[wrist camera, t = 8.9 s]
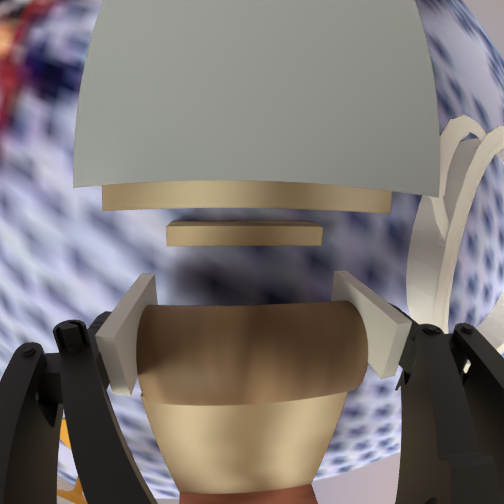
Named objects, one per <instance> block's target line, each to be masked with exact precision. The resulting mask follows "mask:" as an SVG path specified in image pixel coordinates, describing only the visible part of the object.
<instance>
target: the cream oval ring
mask: <svg viewBox="0 0 504 504" xmlns="http://www.w3.org/2000/svg"><path fill="white" fill-rule="evenodd" d="M469 132H471V133H473V134H475V135H476V136H477V137H478V138H477V139H469V140H463V141H461V140H462V139H463V138H465V137H466V136H467V135H468V134H469ZM460 141H461V142H460ZM459 142H460V143H459ZM494 155H496V156H497V157H498V158H499V159H500V160H501V161H502V163H503V164H504V126H498V127H497V128H495V129H494V130H492V131H491V132H489V133H488V134H487V135H486V133H485V131H484V130H483V129H482V127H481V126H480V125H479V124H478V122H477V121H475V120H474V119H472V118H470V117H468V116H466V115H464V114H463V115H462V116H460V117H458V118H455V119H450V120H449V122H448V124H447V125H446V127H445V129H444V130H443V132H442V133H441V135H440V187H439V198H436V197H430V196H422V198H421V201H420V203H419V207H418V211H417V215H416V218H415V222H414V225H413V228H412V235H411V241H410V246H409V252H408V259H407V274H406V291H407V305H408V309H409V314H410V318H412V319H413V320H414V321H416V322H417V323H418V324H419V325H420V324H432V325H435V326H438V327H439V328H440V329H442V331H443V332H444V334H448V315H449V301H450V295H451V289H452V283H453V276H454V271H455V267H456V262H457V258H458V253H459V248H460V243H461V240H462V236H463V233H464V229H465V225H466V221H467V217H468V214H469V211H470V208H471V205H472V202H473V199H474V196H475V193H476V189H477V187H478V185H479V183H480V181H481V178H482V176H483V174H484V171H485V169H486V168H487V166H488V165H489V163H490V162H491V160H492V158H493V157H494ZM476 329H477V330H478V331H479V332H480V333H481V334H482V335H483V336H484V337H485V338H486V339H487V340H488V342H489V343H490V344H491V345H492V346H493V347H494V348H495V349H496V350H497V351H498V352H499V354H500V355H501V354H502V353H503V351H504V290H503V292H502V294H501V296H500V298H499V299H498V301H497V303H496V305H495V306H494V307H493V309H492V310H491V312H490V313H489V314H488V316H487V317H486V318H485V319H484V320H483V321H482V322H481V323H480V324H479V325H478V326H477V327H476ZM470 365H471V363H470V361H469V360H468V361H467V363H466V365H465V368H464V372H465V373H467V371H468V369H469V367H470Z"/></svg>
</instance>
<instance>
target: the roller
mask: <svg viewBox="0 0 504 504" xmlns="http://www.w3.org/2000/svg"><path fill="white" fill-rule="evenodd" d="M136 364H137V373H138V380H139V385H140V388H141V391H142V394H143V396H144V398H145V399H146V401H147V402H149V403H154V404H168V405H191V406H228V405H251V404H265V403H276V402H286V401H294V400H302V399H309V398H316V397H322V396H328V395H334V394H339V393H344V392H349V391H353V390H355V389H357V388H358V387H359V385H360V384H361V383H362V381H363V379H364V376H365V373H366V370H367V365H368V339H367V333H366V329H365V325H364V322H363V319H362V317H361V315H360V313H359V311H358V310H357V308H356V307H355V306H354V305H353V304H352V303H351V302H349V301H345V300H343V301H329V302H313V303H294V304H271V305H231V306H176V305H147V306H146V307H145V308H144V310H143V312H142V315H141V318H140V321H139V326H138V332H137V341H136Z"/></svg>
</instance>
